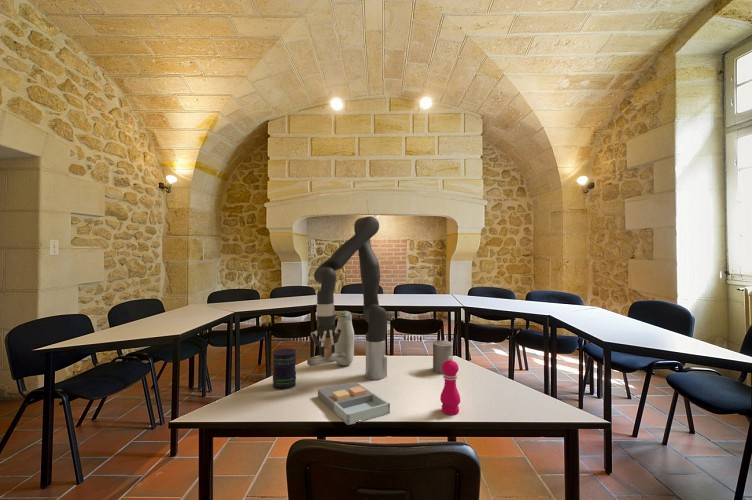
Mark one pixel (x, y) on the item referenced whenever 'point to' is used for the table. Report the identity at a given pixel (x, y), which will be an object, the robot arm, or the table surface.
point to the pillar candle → (441, 354)
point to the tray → (363, 410)
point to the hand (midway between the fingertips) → (326, 354)
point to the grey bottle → (345, 337)
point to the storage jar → (284, 369)
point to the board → (329, 400)
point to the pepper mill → (450, 388)
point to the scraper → (326, 355)
